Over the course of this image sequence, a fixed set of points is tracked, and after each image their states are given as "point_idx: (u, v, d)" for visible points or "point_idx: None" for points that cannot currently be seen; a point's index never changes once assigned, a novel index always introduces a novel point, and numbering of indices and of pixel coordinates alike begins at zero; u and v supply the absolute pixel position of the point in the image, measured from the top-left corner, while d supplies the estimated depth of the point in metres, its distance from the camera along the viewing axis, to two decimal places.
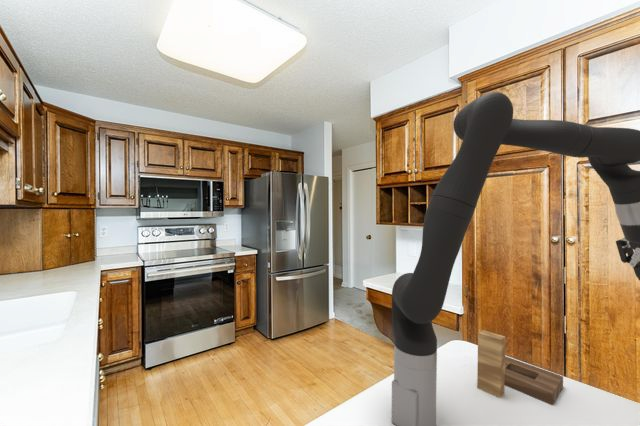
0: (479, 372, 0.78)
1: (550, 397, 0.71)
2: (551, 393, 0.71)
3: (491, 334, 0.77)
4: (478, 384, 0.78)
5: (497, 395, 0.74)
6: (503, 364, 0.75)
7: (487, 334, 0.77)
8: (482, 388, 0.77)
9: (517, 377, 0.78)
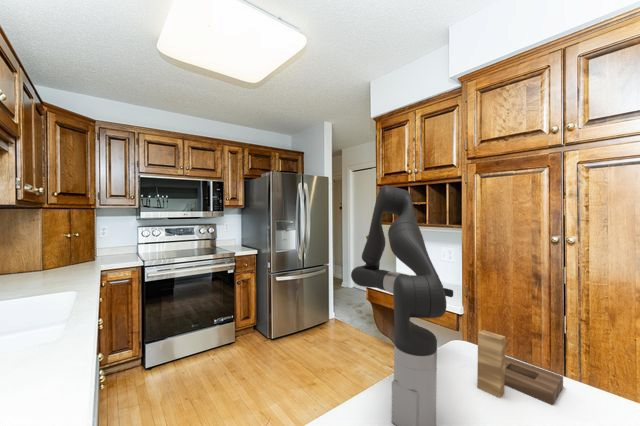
0: (479, 372, 0.78)
1: (550, 397, 0.71)
2: (551, 393, 0.71)
3: (491, 334, 0.77)
4: (478, 384, 0.78)
5: (497, 395, 0.74)
6: (503, 364, 0.75)
7: (487, 334, 0.77)
8: (482, 388, 0.77)
9: (517, 377, 0.78)
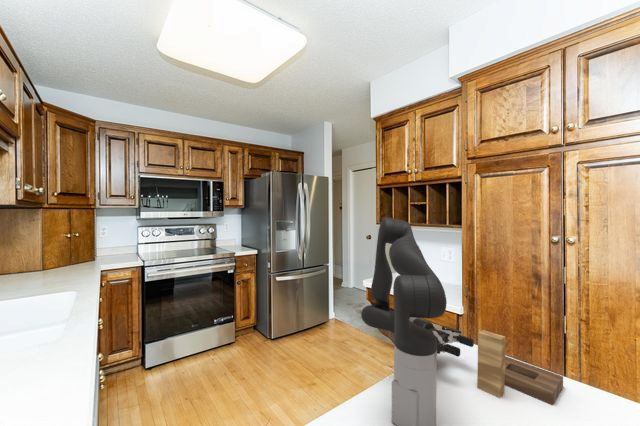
0: (479, 372, 0.78)
1: (550, 397, 0.71)
2: (551, 393, 0.71)
3: (491, 334, 0.77)
4: (478, 384, 0.78)
5: (497, 395, 0.74)
6: (503, 364, 0.75)
7: (487, 334, 0.77)
8: (482, 388, 0.77)
9: (517, 377, 0.78)
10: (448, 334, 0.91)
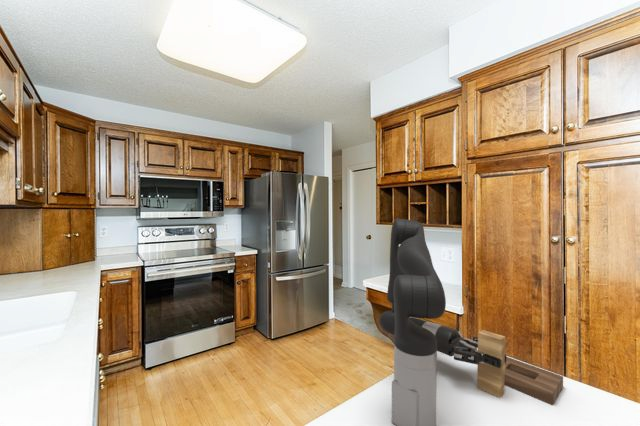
0: (479, 372, 0.78)
1: (550, 397, 0.71)
2: (551, 393, 0.71)
3: (491, 334, 0.77)
4: (478, 384, 0.78)
5: (497, 395, 0.74)
6: (503, 364, 0.75)
7: (487, 334, 0.77)
8: (482, 388, 0.77)
9: (517, 377, 0.78)
10: None
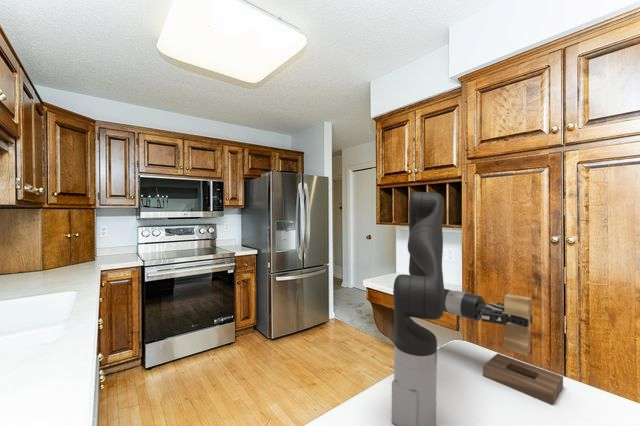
0: (505, 333, 0.81)
1: (550, 397, 0.71)
2: (551, 393, 0.71)
3: (517, 296, 0.80)
4: (504, 345, 0.81)
5: (524, 353, 0.78)
6: (529, 324, 0.79)
7: (514, 296, 0.80)
8: (508, 348, 0.81)
9: (517, 377, 0.78)
10: (502, 311, 0.87)
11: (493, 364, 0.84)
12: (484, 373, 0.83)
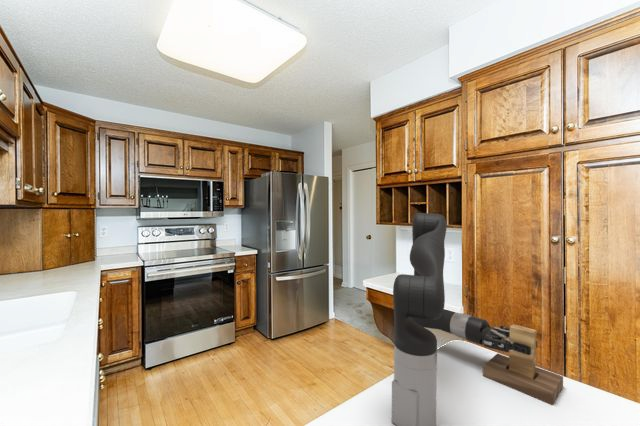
0: (511, 364, 0.81)
1: (550, 397, 0.71)
2: (551, 393, 0.71)
3: (522, 328, 0.81)
4: None
5: None
6: (534, 356, 0.79)
7: (519, 328, 0.80)
8: None
9: (517, 377, 0.78)
10: (506, 334, 0.88)
11: (493, 364, 0.84)
12: (484, 373, 0.83)
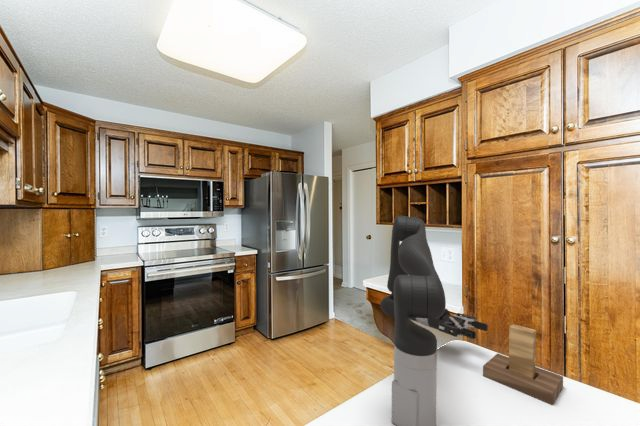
0: (510, 364, 0.81)
1: (550, 397, 0.71)
2: (551, 393, 0.71)
3: (522, 327, 0.81)
4: None
5: None
6: (534, 356, 0.79)
7: (518, 328, 0.80)
8: None
9: (517, 377, 0.78)
10: (463, 320, 0.98)
11: (493, 364, 0.84)
12: (484, 373, 0.83)
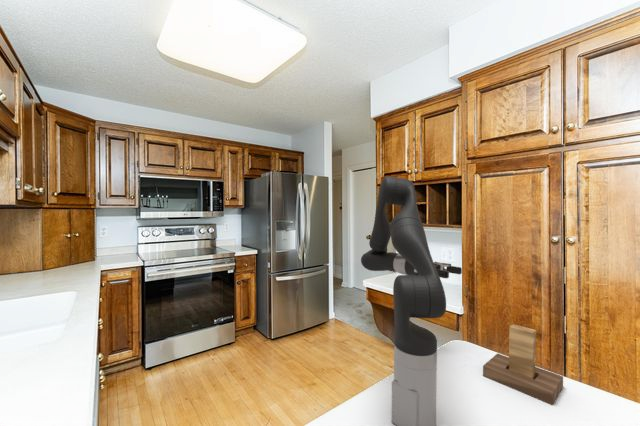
0: (510, 364, 0.81)
1: (550, 397, 0.71)
2: (551, 393, 0.71)
3: (522, 327, 0.81)
4: None
5: None
6: (534, 356, 0.79)
7: (518, 328, 0.80)
8: None
9: (517, 377, 0.78)
10: (439, 268, 1.01)
11: (493, 364, 0.84)
12: (484, 373, 0.83)
